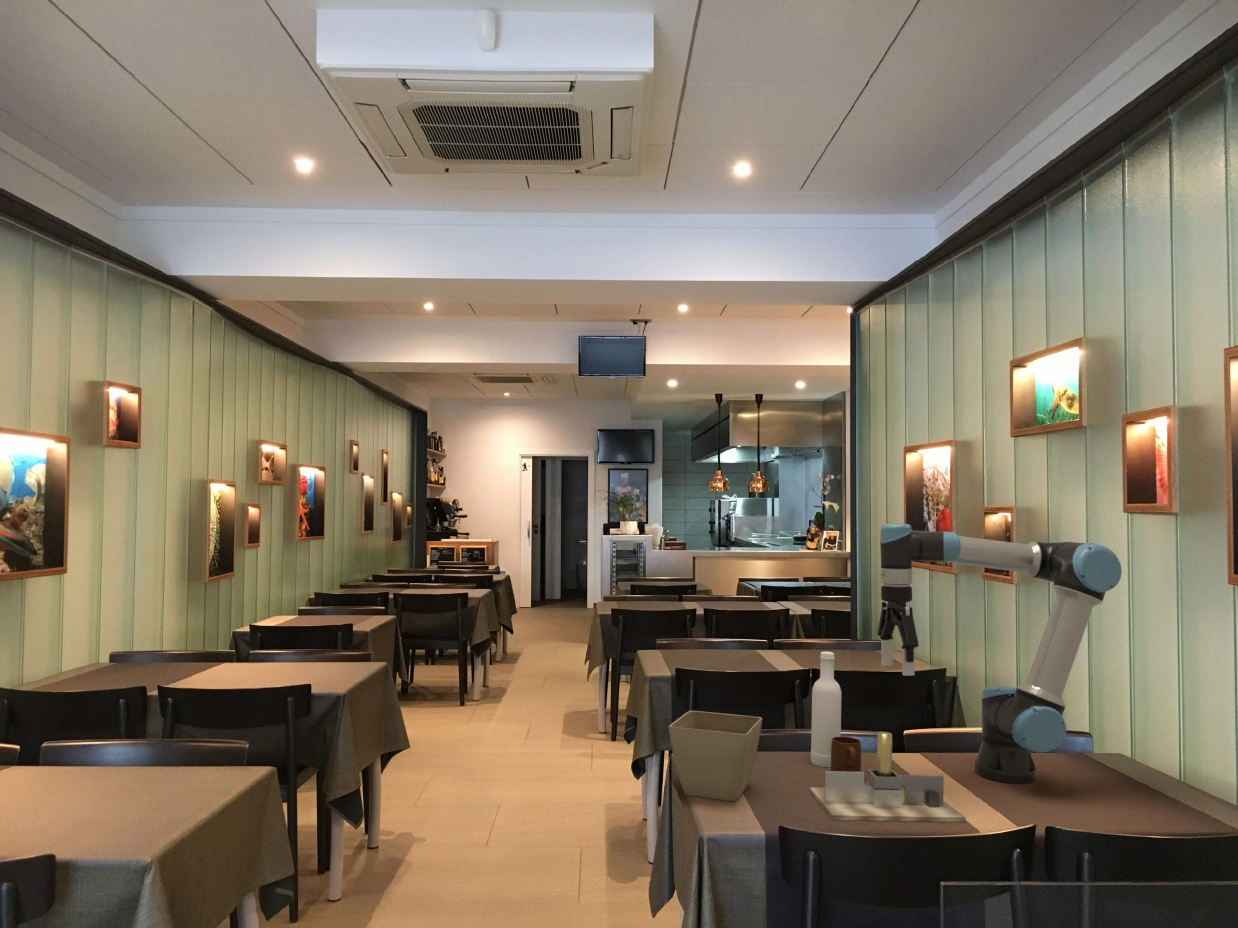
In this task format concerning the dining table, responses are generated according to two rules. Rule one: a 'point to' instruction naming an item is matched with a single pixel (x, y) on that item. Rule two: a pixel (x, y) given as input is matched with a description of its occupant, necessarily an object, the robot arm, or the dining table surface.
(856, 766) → the mug
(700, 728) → the flower pot
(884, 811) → the board
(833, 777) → the hinge base
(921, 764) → the dining table surface
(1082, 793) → the dining table surface
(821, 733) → the bottle
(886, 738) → the pin
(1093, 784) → the dining table surface
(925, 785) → the square frame with bar
